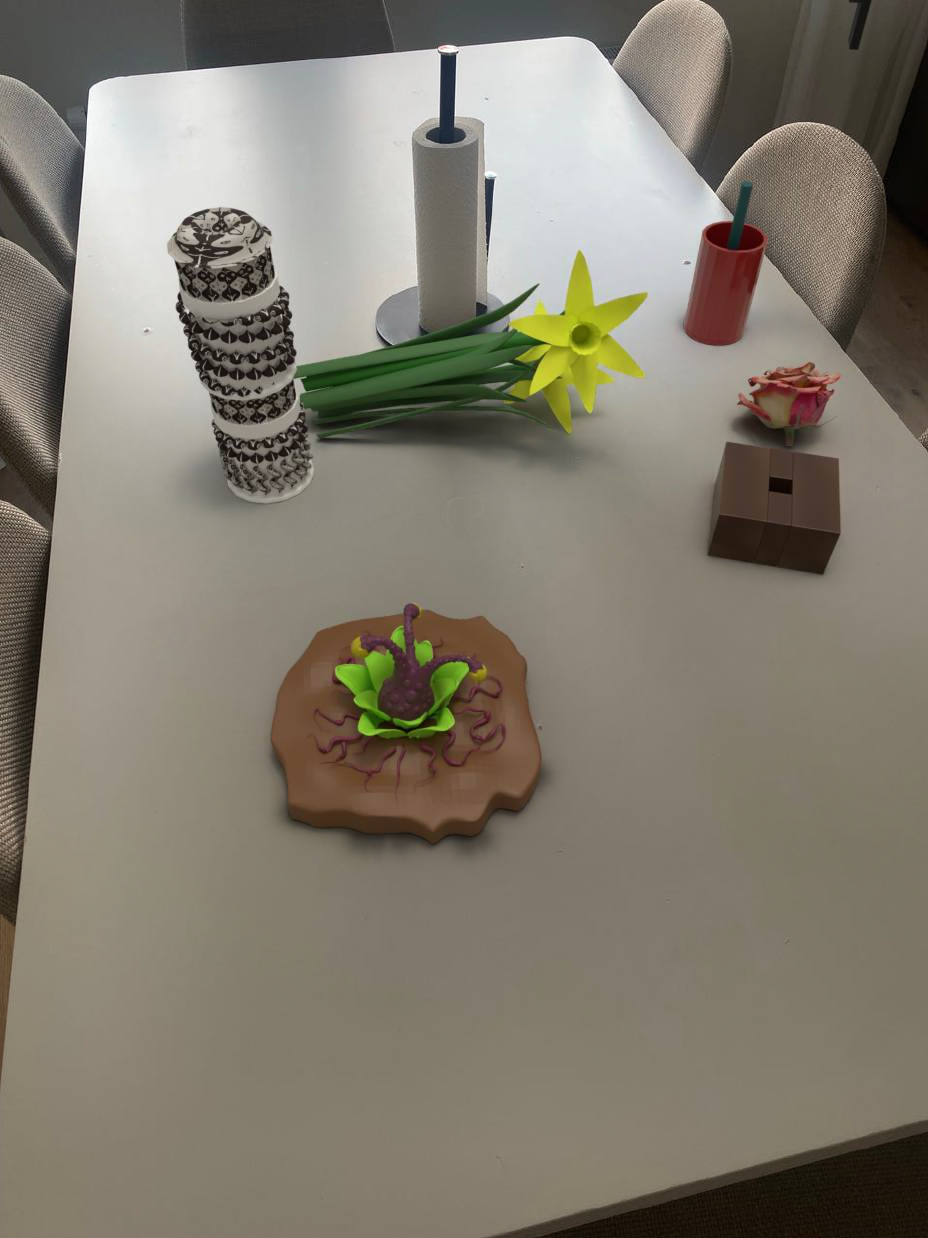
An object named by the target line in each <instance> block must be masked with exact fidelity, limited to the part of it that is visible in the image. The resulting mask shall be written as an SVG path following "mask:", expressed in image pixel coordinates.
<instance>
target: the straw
mask: <svg viewBox="0 0 928 1238" xmlns="http://www.w3.org/2000/svg"><path fill="white" fill-rule="evenodd" d="M753 187H754V183H753V182H752V181H748V180H747V181H742V182H741V184H740V187H739V191H738V197H737V201H736V206H735V209H734V214H733V219H732V221H733V222H732V227H731V231H730V236H729V240H728V245H727V249H728V250H736V251H738V248H739V244H740V239H741V235H742V231H743V226H744V223H746V217H747V214H748V210H749V206H750V205H749V204H750V201H751V197H752V193H753Z"/></svg>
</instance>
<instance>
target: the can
mask: <svg viewBox="0 0 928 1238" xmlns="http://www.w3.org/2000/svg"><path fill="white" fill-rule="evenodd" d="M732 222H733V220H722V221H717V222H713V223H710V224H709V225H706V226H705V227H704V228H703V229H702V232H701V236H700V241H699V247H698V251H697V257H696V261H695V266H694V271H693V277H692V282H691V285H690V292H689V296H688V301H687V306H686V311H685V316H684V322H683V330H684V332H685V333H686V335H688V337H690V338H691V339H693V340H695V341H697V342H698V343H701V344H705V345H710V346H727V345H732V344H734V343H737V342H738V341H740V340H741V339H742V337H743V336H744V334H745V330H746V326H747V324H748V323H747V322H748V320H749V315H750V312H751V307H752V304H753V299H754V296H755V292H756V288H757V284H758V280H759V276H760V274H761V268H762V265H763V262H764V258H765V255H766V249H767V246H768V240H769V239H768V236H767V234H766V233H765V231H763V230H762V229H761V228H759V227H757V226H755V225H753V224H750V223H746V222H744V226H743V231H742V235H741V239H740V244H739V248H738V251H736V250H728V249H727V245H728V240H729V236H730V231H731V227H732Z"/></svg>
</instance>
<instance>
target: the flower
mask: <svg viewBox="0 0 928 1238" xmlns="http://www.w3.org/2000/svg"><path fill="white" fill-rule="evenodd" d="M841 377H842V373H841V372H837V373H835V374H831V376H829V371H825V372H824V373H822V374H821V372H820V370H819V369H817V368H816V364H815V363H814V362H812V361H808V362H806V363H803V364H801V365H799V366H797V367H793V366H788V367H785V366H779V367H776V369H775V370H771V369H767V370H766V371H764V372H763V375H761V376H752V377H749V378H748V379H747V381H748V385H749V386H750V387H751V388H753V387H755V386H756V385H757V384H758V385H759V386H760V387H758V388H756V389H755V390H753V391H750V392H749V395H750V396H751V397H752V399H753V400H750V399H747V397H745V395H744V394H743V393H742V392H739V394H737V395H738V400H739V401H738V402H737V403H736V405H737V406H744V407H746V408H748V409H750V410H751V411H752V412H750V414H752V415H755V416H756V417H757V418H758V419H759V421H760V422H761V423H762V424H764V425H765V426H766V427H767V428H770V429H783V430H784V431H785V446H786V447H794V436H795V431H796V430H797V429H801V428H802V427H803V428H805V429H809V430H810V431H811V432H813V430H817V429H819V428H822V427H823V426H825V425H826V424H828V423H829V422H831V421H832V420H833V419H835V418H836V416H834V417H833V418H831V419H830V420H828V421H825V422H824V423H819V421H820V420H821V418H822V417H823V414H824V412H825V409H826V406H827V403H828V402H829V401H830V398H831V397H832V396H833V395H835V389H833V388H832V389H831V390H828V388H827V387H828V385H833V384H834V383H836V382H837V381H839V379H840V378H841ZM818 423H819V424H818Z"/></svg>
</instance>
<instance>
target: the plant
mask: <svg viewBox="0 0 928 1238" xmlns="http://www.w3.org/2000/svg"><path fill="white" fill-rule="evenodd" d="M527 674H528V663H527V659H526V658H525V656H523V655H522V654H521V653H520V652H519V651H518V648H517V647H516V645H515V644H514V642H513V641H512V639H511V637H509V636H508V635H507V634H505V633H504V632H503V631H501V630H499V629H498V628H496V627H495V626H494V625H493V624H491V622H490V621H488V619H487V618H486V617H485V616H484V615H477V616H473V617H470V618H460V619H459V618H453V617H449V616H444V615H442V614H439V613H437V612H435V611H433V610H430V609H422V608H421V606H420V605H419V604H418V603H415V602H408V603H407V604H405V605H404V608H403V613H397V614H391V615H384V616H375V617H369V618H361V619H355V620H350V621H346V622H343V623H340V624H336V625H333V626H331V627H326V628H323V629H320V630H318V631H317V632H316V633H315V635H314V637H313V638H312V640H311V641H310V642H309V644H308V645H307V648H306V649H305V650H304V652H303V653H302V655H300V657H299V659H298V660H296V662H295V663H294V664H293V665H292V666H291V667H289V670H288V671H287V672H286V674H285V676H284V678H283V681H282V682H281V684H280V687H279V689H278V692H277V695H276V700H275V701H276V702H275V708H274V714H273V719H272V724H271V729H270V745H271V747H272V750H273V753H274V755H275V757H276V759H277V760H278V761H279V763H280V764H281V766H282V767H283V769H284V772H285V779H286V786H287V806H288V810H289V811H288V812H289V814H290V818H291V819H292V820H295V821H299V822H302V823H305V824H308V825H310V826H312V827H315V828H321V829H322V828H323V829H325V828H348V829H351V830H355V831H358V832H361V833H364V834H374V835H376V834H377V835H380V834H382V835H383V834H389V835H390V834H403V833H408V834H413V835H416V836H418V837H421V838H423V839H425V840H426V841H428V842H430V843H431V844H432V845H433V844H436V843H437V842H439V841H440V840H441V839H443V838H444V837H445V836H449V835H462V836H467V837H473V836H476V835H478V834H479V833H481V831H482V830H483V828H484V827H485V825H486V824H487V821H488V820H489V818H490V815H492V813H493V812H494V811H495V810H498V809H506V810H510V811H515V812H519V811H520V810H522V809H523V808H524V806H525V805H526V804H527V803H528V801H529V800H530V799H531V798H532V795H533V793H534V792H535V790H536V788H537V785H538V783H539V780H540V775H541V767H542V749H541V743H540V740H539V736H538V733H537V730H536V727H535V724H534V721H533V719H532V713H531V711H530V705H529V698H528V692H527V686H526V680H527Z"/></svg>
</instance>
